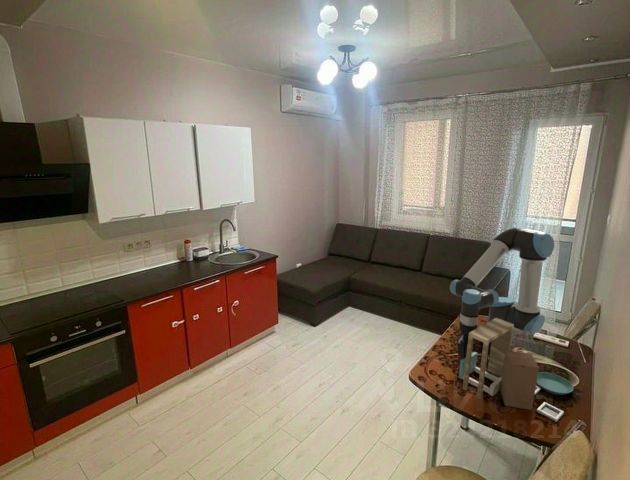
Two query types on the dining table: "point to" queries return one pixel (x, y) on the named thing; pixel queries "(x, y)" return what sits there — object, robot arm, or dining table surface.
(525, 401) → the wooden block
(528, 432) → the dining table surface
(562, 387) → the saucer
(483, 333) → the beige tall open frame
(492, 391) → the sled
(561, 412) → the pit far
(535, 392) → the pit side
